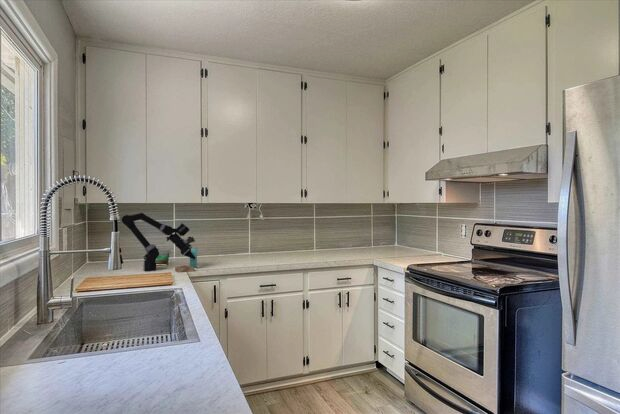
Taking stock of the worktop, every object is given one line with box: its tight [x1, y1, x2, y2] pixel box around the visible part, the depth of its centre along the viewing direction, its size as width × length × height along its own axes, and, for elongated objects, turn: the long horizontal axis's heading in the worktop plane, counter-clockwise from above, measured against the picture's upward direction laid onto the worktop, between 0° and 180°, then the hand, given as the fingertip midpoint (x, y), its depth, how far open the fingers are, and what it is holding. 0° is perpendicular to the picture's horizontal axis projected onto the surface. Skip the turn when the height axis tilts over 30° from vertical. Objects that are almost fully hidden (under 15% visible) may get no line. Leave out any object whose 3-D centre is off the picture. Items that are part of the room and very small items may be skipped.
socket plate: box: [174, 265, 195, 273], centre depth 237 cm, size 9×9×2 cm
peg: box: [189, 247, 198, 268], centre depth 248 cm, size 4×4×13 cm
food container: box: [156, 249, 171, 265], centre depth 263 cm, size 12×6×10 cm, turn 105°
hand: (195, 258), depth 249 cm, fingers open, 9 cm apart
